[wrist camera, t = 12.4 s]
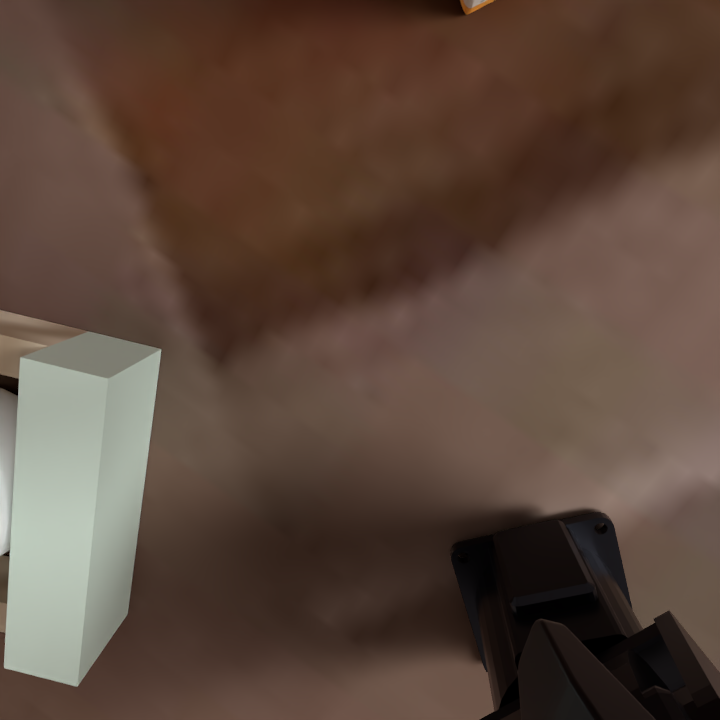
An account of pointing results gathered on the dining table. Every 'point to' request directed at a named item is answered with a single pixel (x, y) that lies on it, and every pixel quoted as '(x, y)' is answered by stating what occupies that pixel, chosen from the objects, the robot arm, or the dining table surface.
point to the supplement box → (473, 5)
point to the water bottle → (7, 464)
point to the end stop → (76, 500)
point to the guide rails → (3, 351)
